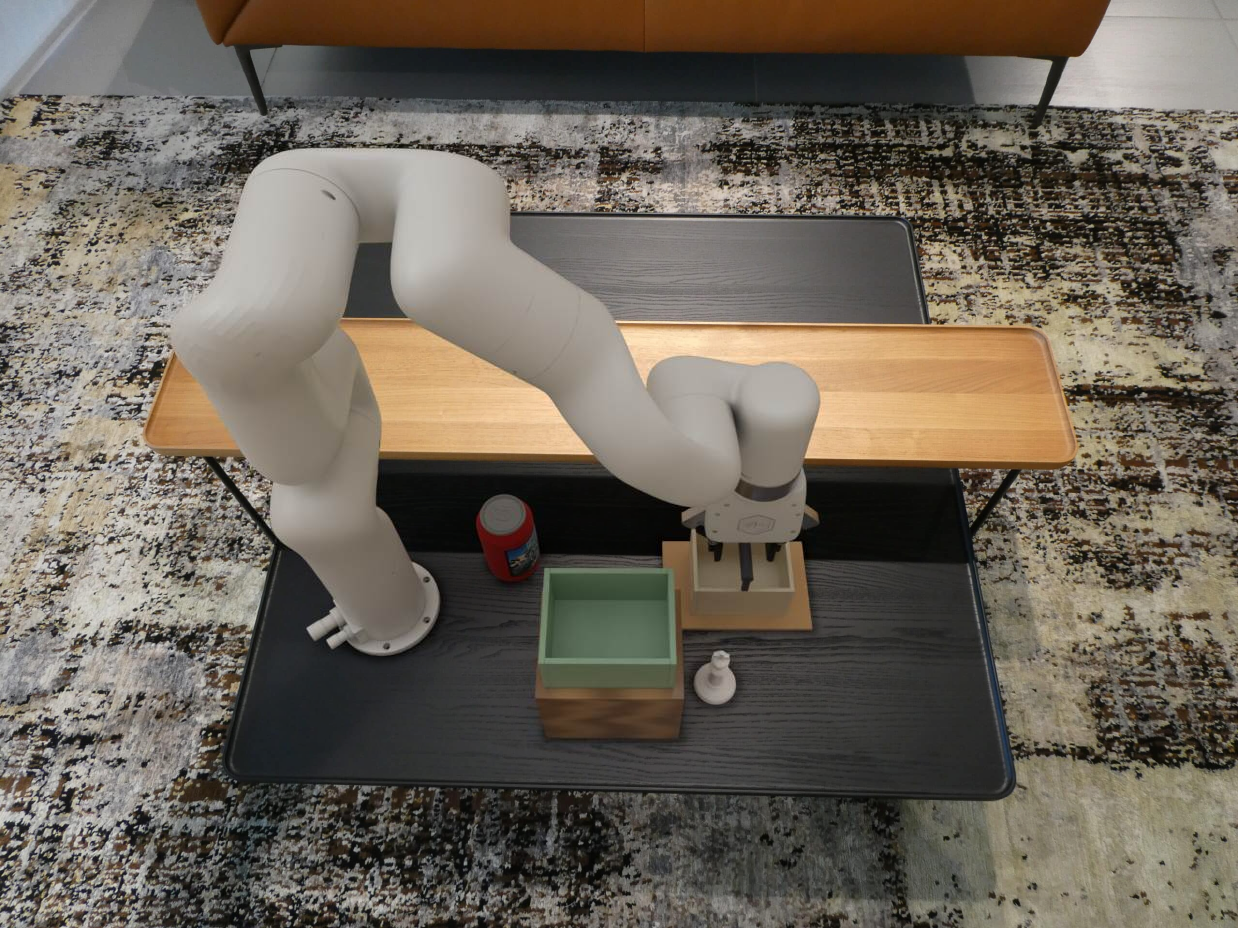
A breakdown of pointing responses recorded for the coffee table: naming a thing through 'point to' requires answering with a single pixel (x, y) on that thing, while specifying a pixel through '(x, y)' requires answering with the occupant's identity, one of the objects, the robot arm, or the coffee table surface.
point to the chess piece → (715, 680)
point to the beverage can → (508, 537)
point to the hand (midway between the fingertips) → (742, 549)
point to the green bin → (608, 628)
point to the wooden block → (614, 705)
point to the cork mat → (794, 619)
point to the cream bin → (739, 579)
